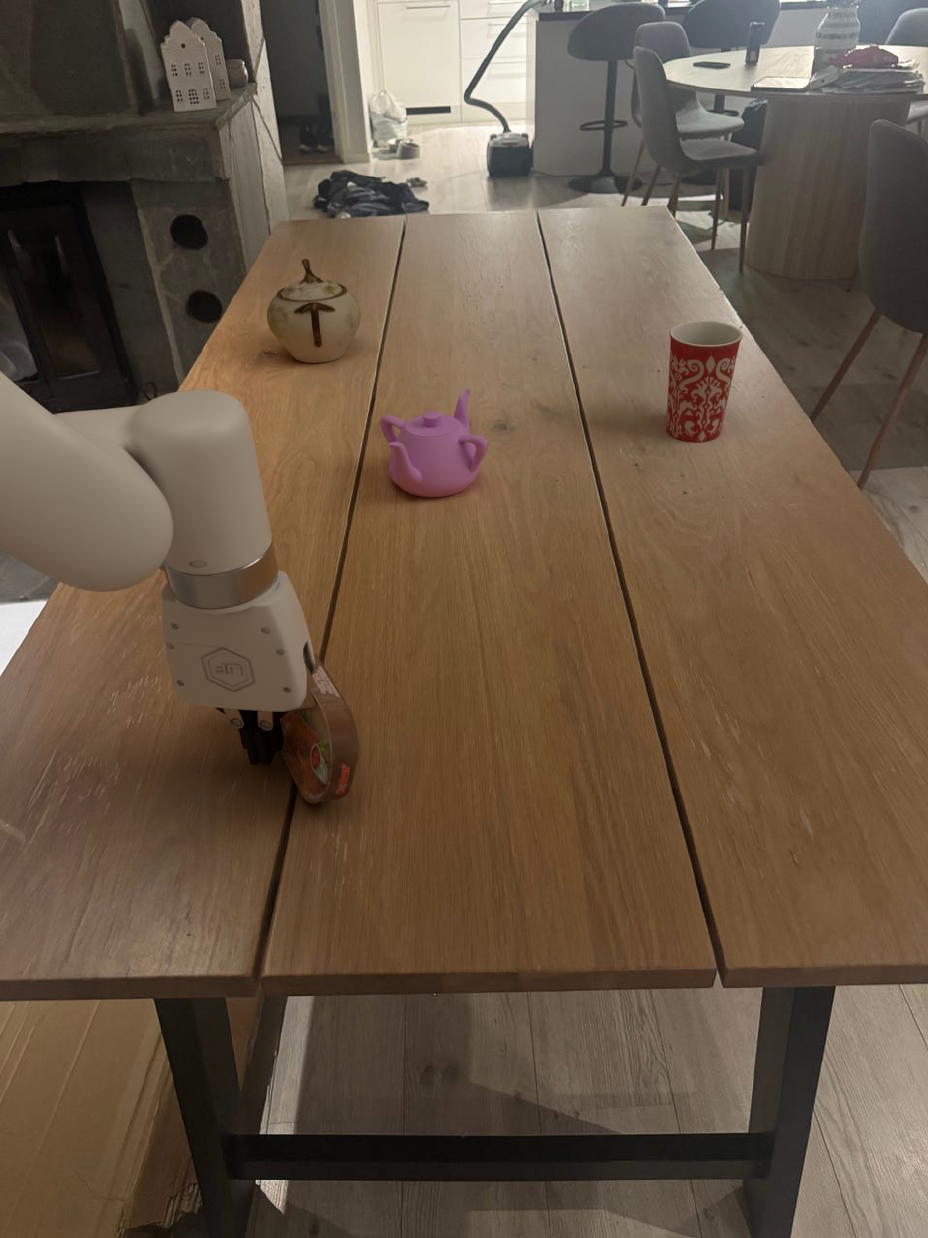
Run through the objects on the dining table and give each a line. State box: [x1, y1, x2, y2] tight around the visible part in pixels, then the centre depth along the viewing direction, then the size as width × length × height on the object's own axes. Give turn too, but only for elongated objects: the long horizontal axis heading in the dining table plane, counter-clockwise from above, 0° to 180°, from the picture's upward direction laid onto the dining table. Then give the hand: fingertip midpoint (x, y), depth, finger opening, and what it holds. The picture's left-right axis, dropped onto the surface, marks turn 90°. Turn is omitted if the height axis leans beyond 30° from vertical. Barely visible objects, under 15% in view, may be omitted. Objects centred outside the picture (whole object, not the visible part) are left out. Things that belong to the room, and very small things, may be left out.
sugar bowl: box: [266, 258, 362, 364], centre depth 148 cm, size 20×15×15 cm
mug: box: [665, 320, 744, 443], centre depth 122 cm, size 13×9×14 cm
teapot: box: [380, 389, 489, 498], centre depth 114 cm, size 12×14×9 cm
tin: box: [279, 652, 360, 805], centre depth 75 cm, size 15×3×8 cm, turn 26°
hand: (265, 753), depth 76 cm, fingers closed
